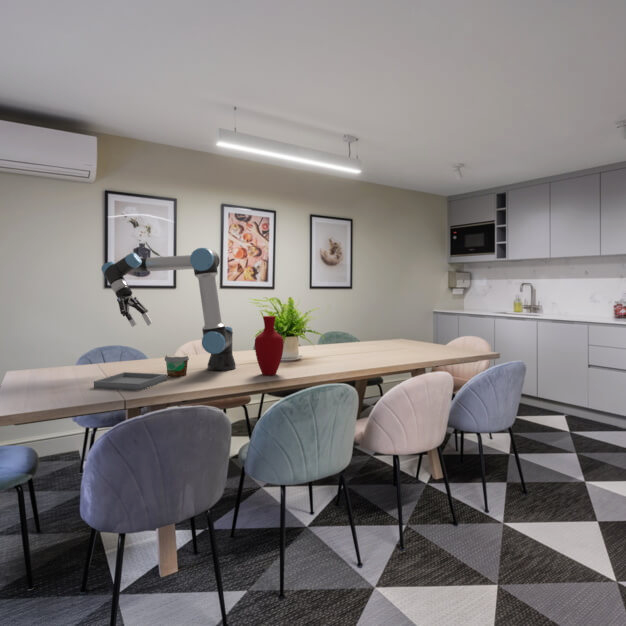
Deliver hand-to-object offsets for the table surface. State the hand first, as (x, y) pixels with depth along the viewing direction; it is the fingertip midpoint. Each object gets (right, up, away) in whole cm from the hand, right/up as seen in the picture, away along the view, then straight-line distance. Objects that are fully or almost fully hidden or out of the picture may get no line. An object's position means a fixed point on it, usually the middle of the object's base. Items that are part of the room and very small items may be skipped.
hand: (142, 324), depth 225 cm
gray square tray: (+4, -26, -23) cm, 36 cm away
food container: (+18, -26, -5) cm, 32 cm away
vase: (+64, -26, +3) cm, 69 cm away
